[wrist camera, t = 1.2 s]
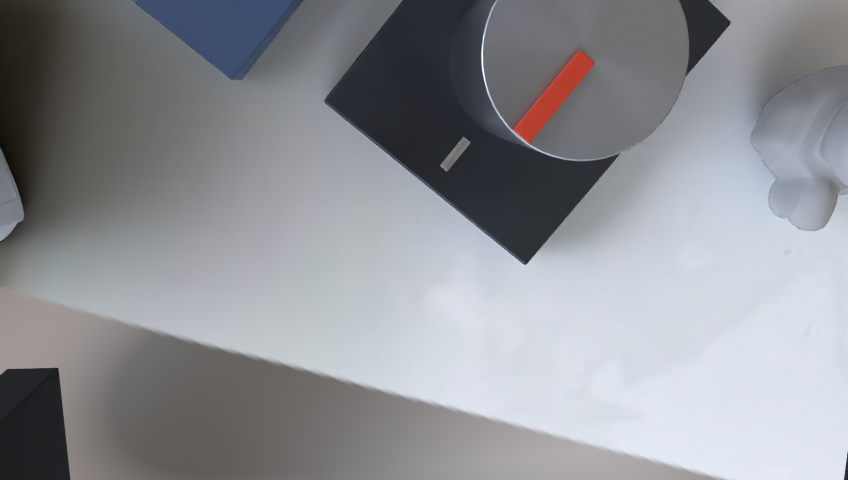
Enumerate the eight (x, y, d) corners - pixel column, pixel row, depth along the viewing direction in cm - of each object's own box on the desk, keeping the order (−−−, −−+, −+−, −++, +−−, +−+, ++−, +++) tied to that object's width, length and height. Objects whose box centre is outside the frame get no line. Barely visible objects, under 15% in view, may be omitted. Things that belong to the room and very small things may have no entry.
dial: (523, -60, 27) (582, -110, 20) (642, 50, 29) (737, 39, 21) (417, 72, 28) (438, 69, 21) (538, 175, 29) (597, 204, 22)
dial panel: (518, -149, 29) (534, -171, 27) (705, 28, 31) (736, 23, 29) (323, 98, 30) (320, 100, 28) (514, 253, 32) (528, 269, 30)
